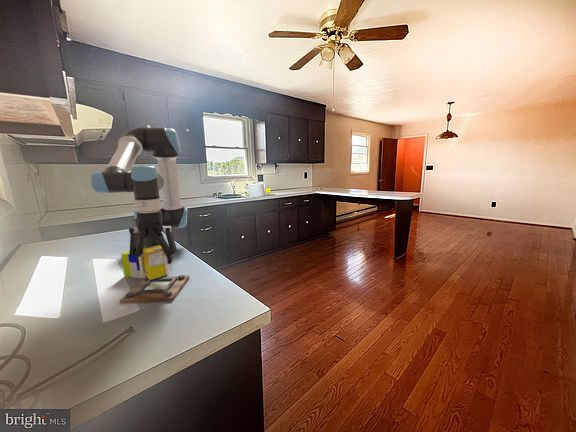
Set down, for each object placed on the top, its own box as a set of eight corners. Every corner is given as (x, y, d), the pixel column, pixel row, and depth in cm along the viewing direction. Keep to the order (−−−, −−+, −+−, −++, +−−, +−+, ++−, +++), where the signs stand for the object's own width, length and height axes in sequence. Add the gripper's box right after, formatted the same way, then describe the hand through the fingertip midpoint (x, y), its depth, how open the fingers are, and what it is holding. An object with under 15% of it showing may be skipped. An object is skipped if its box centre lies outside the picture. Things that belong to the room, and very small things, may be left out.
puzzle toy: (145, 278, 98) (142, 255, 96) (124, 276, 100) (121, 253, 98) (162, 268, 107) (160, 247, 105) (143, 266, 109) (140, 246, 107)
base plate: (146, 279, 96) (145, 274, 96) (189, 278, 98) (188, 273, 97) (120, 303, 80) (119, 297, 79) (172, 301, 81) (171, 295, 80)
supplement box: (162, 271, 92) (159, 244, 89) (167, 276, 87) (164, 248, 85) (145, 276, 87) (141, 248, 85) (149, 282, 83) (146, 252, 81)
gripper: (110, 213, 78) (119, 277, 83) (175, 212, 80) (181, 275, 84) (124, 209, 86) (132, 268, 90) (183, 208, 87) (188, 267, 92)
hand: (156, 272), depth 87 cm, fingers closed on supplement box, 8 cm apart
